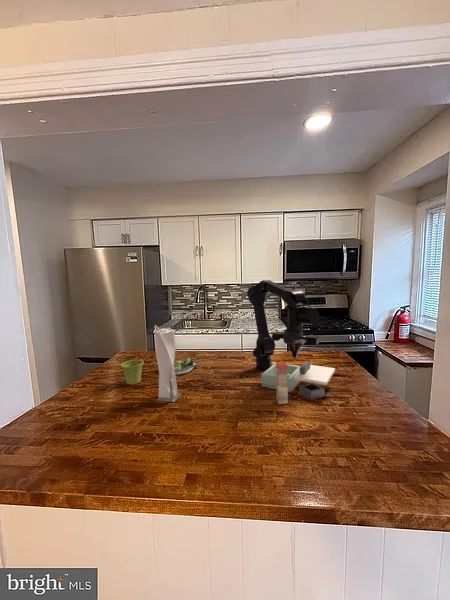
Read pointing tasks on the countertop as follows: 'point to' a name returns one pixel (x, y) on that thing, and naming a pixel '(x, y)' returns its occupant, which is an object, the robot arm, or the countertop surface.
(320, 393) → the key socket
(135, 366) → the plant pot
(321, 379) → the toolbox lid
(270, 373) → the toolbox
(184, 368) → the salad plate
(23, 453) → the countertop surface
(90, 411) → the countertop surface
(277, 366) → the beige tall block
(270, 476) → the countertop surface
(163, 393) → the skyscraper
